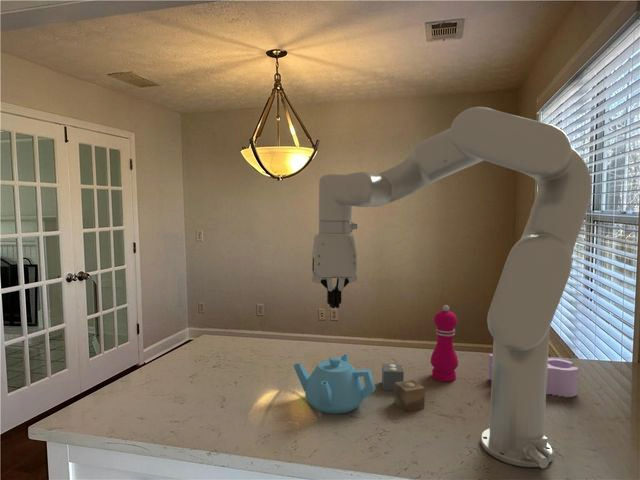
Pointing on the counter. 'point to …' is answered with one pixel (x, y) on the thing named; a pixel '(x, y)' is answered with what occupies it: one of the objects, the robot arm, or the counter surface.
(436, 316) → the pepper mill
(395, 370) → the charcoal block
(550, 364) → the clip
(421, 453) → the counter surface
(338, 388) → the teapot
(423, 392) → the walnut block
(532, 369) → the robot arm
